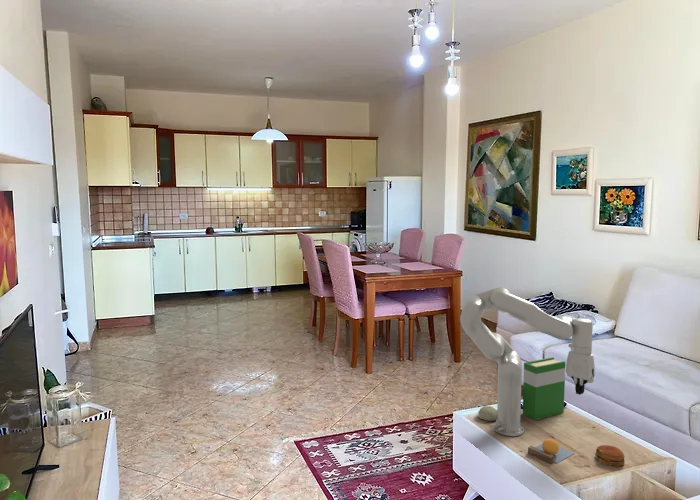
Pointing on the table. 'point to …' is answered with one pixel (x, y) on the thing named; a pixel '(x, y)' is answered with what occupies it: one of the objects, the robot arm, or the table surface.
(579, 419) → the table surface
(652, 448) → the table surface
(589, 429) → the table surface
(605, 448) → the burger
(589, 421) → the table surface
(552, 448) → the ball
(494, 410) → the sea urchin shell
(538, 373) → the hardback book
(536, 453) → the stopper wall
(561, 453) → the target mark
